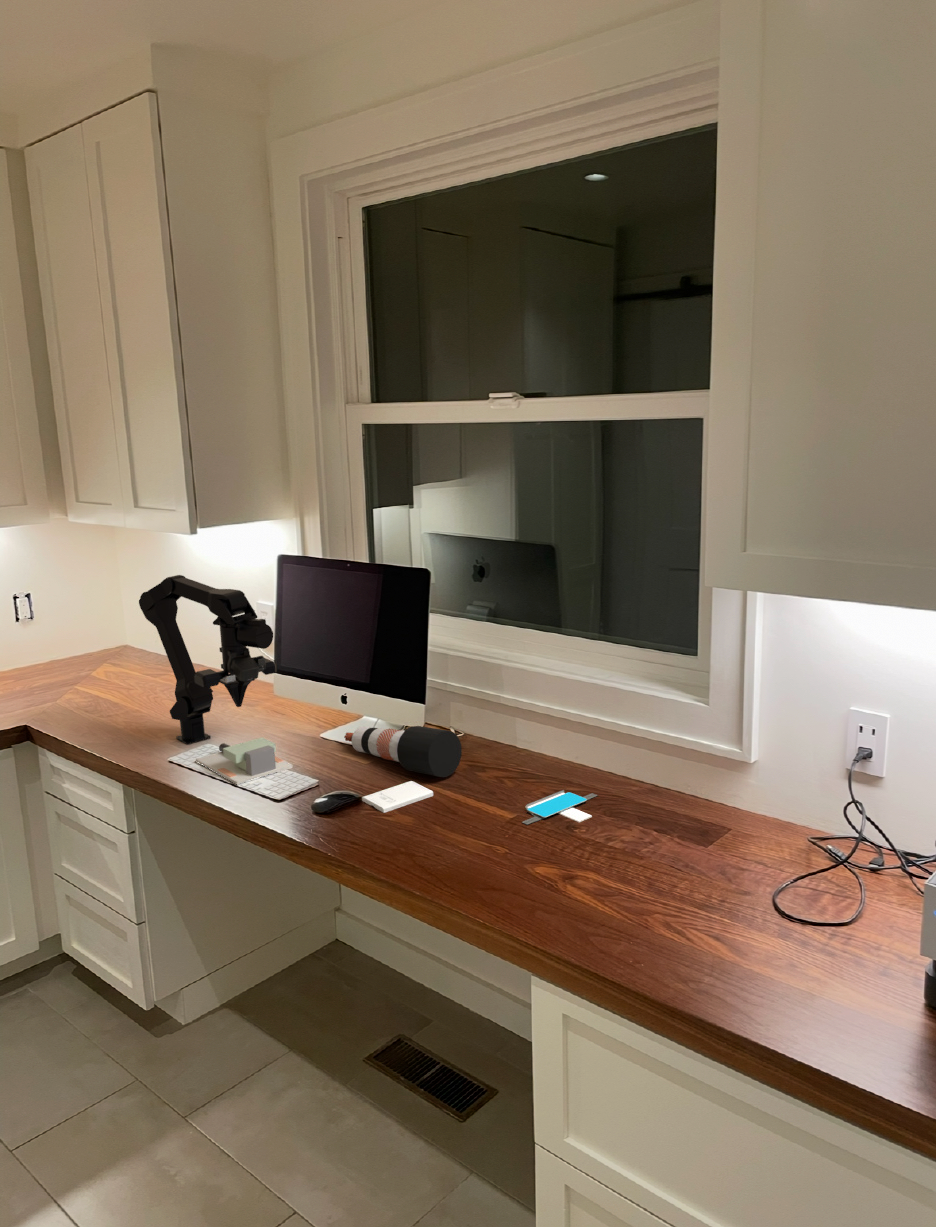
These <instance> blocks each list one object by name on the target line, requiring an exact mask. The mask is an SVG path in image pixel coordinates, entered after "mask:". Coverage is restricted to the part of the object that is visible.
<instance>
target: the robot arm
mask: <svg viewBox="0 0 936 1227" xmlns="http://www.w3.org/2000/svg"><path fill="white" fill-rule="evenodd" d="M181 598H184V599H186V600H190V601H193V602H195V603H197V604H200V605H203V606H206V607H207V608H208V610H209V612H211V613H212V614H214V615H215V616H216V618H215V619H214V621H212V625H214V626H215V625H216V626H219V632H220V644H221V646H220V647H219V652H220V653H221V658H222V663H221V664H220V669H221V670H220V671H219V670H218V671H215V670H214V669H211V668H208V669H203V670H198V671H196V669H195V666H194V664H193V662H192V659H191V656H190V653H189V651H188V648H187V646H186V644H185V640H184V639H183V638H184V637H183V636H182V633H181V629H180V628H179V626H178V622H177V615H178V608H179V607H178V603H177V602H178V601H179V599H181ZM138 605H139V608H140V609H141V611H142V614H143V615H144V617H145V619H146V620H147V621H148V622H149V623H151V624H152V625H153V626H155V628H156V630H157V633H158V635H159V638H160V642H161V643H162V646H163V648H164V652H165V653H166V654H165V655H166V657H167V659H168V661H169V664H170V667H171V670H172V672H173V674H174V677H175V678H174V679H175V680H176V683H175V688H174V689H175V690H174V696H175V700H176V701H175V702H174V704H173V706H172V707H171V708H170V709H169V714H170V717H171V719H172V720H177V721H179V726H180V735H177V736H176V738H175V739H176V740H179V741H180V742H182V743H184V744H186V745H188V744H189V745H190V744H192V743H197V742H201V741H204V740H209V739H211V735H210V734H207V733H205V721H204V720H205V719H204V714H206V713H210V712H211V708H212V702H213V700H214V695H213V692H214V691H213V689H212V687H216V686H218V685H219V684H222V685H223V686H224V687H225V688H226V690H227V691H228V693H229V695H230V697H231V699H232V701H233V704H234V705H235V706H236V708H241V707H242V706H243V702H244V698H245V694H246V692H247V688H248V687H249V685H250V684H251V682H253V681H255V680H256V679H258V678H259V673H263V674H264V675H265V676H267V675H272V674H276V673H277V664H276V663H275V661H274V660H271V659H269V658H266V657H264V656H263V655H258V656H254V657H251V654H250V648H257V649H260V650H261V649H263V650H264V649H268V648H269V647H270V646H271V645H272V642H273V640H274V631H273V629H272V627H271V626H270V625H269V624H267V620H266V619H265V618H258V615H257V613H256V612H255V611H256V610H254V608H253V607H252V605H251V603H250V602H249V600H248V598H247V597H246V594H245V593H244V592H243V591H242V590H240V589H231V588H215V587H213V586H210V585H207V584H205V583H202V582H199V581H196V580H193V579H190V578H187V577H186V576H184V575H182V574H177V575H172V576H167V577H166V578H165V579H163V580H162V581H161V582H160V583H158V584H157V585H155V586H153V587H151V588H149V590H147V591H144V592H142V593H141V595H140V597H139V600H138ZM249 647H250V648H249Z"/></svg>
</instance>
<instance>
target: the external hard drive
mask: <svg viewBox="0 0 936 1227" xmlns="http://www.w3.org/2000/svg"><path fill="white" fill-rule="evenodd" d="M433 796H434V791H433V790H431V789H429V788H427V787H425V786H423V785H421V784H419V783H417V782H415V781H412V780H410V781H406V782H404V783H401V784H398V785H394V786H391V787H389V788H385V789H383V790H379V791H376V792H374V793H371V794H368V795H364V796H361V801H362V802H363V803H366V804H367V805H369V806H372V807H374V809H377V811H380V812H381V813H383V814H384V813H387V812H392V811H393V810H397V809H399V808H402V807H405V806H408V805H411V804H414V803H417V802H419V801H422V800H425V799H428V798H431V797H433Z"/></svg>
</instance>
